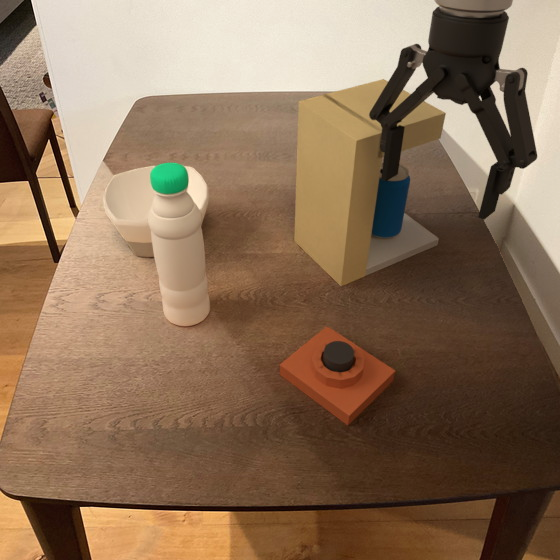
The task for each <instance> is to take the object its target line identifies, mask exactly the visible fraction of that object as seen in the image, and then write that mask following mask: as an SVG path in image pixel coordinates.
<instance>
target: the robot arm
mask: <svg viewBox="0 0 560 560" xmlns="http://www.w3.org/2000/svg"><path fill="white" fill-rule="evenodd" d="M513 1H514V0H434V2H435V3H436V5H438V6H437V7H436V8H435V9H434V10H433V11H432V14H431V20H430V27H429V33H428V41H427V43H428V49H427V50H425V49H422V46H421V45H420V44H419V43H414V44H412V45H409V46H407V47H404V48H402V49H401V50H400V53H399V58H398V62H397V66H396V67H395V70H393V73H392V75H391V76H390V78H389V79H388V80H387V81H388V83H387V85H386V86H385V88H384V90H383V91H382V93H381V94H380V96H379V98H378V99H377V101H376V103H375V104H374V106H373V108H372V109H371V111H370V113H369V116H370V118H371V119H372V120H377V121H378V122H379V123H380V124H381V127H382V134H381V143H380V150H381V152H384V157H383V160H382V163H383V169H382V176H381V180H384V181H387V180H389V179H391V178H392V177H394V176H396V175H398V170H399V164H401V155H402V151H401V149H402V142H403V135H404V128H405V127H404V126H401V125H399V126H397V124H398V123H400V122H402V121H401V120H403V119H404V118H405V117H406V116H407V115H408V114H410V113H411V112H412V111H413V110H414V109H415V108H416V107H418V106H419V105H420V104H421V103H422V102H423V101H425V102H426V101H427V100H428V98H429V97H430V96H432V95H433V94H435V95H436V99H439V100H443V101H444V100H445V101H446V100H447V101H448V100H450V101H452V102H453V103H454V104H457V105H460V106H463V105H465V104H467V106H468V109H469V110H470V112H471V113H472V114H474V115H475V117H476V119H477V122H478V123H479V125H480V128H481V130H482V132H483V134H484V136H485V138H486V140H487V142H488V145H489V147H490V149H491V151H492V153H493V155H494V157H495V160H496V162H495V163H494V164H492V165H491V166H490V169H489V172H488V177H487V181H486V184H485V188H484V192H483V196H482V200H481V204H480V208H479V211H478V217H477V218H479V219H481V220H483V221H485V220H486V219H487V218H489V217H490V216H491V215H492V214H494V213H495V212H496V209H497V205H498V201H499V198H500V195H503V194H504V193H506V192H507V191H508V190H509V189H510V188H511V184H512V182H513V179H514V174H515V171H516V168H519V169H523V170H524V169H526V168H527V167H529V166H530V165H532V164H533V163H534V162H535V161H537V159H538V152H537V146H536V140H535V136H534V130H533V126H532V120H531V114H530V111H529V105H528V104H529V103H528V99H527V94H526V86H527V80H528V70H527V69H526V68H525V67H519V68H517V69H515V70H513V69H505V68H501V67H500V61H499V60H500V55H501V52H502V50H503V46H504V41H505V37H506V32H507V28H508V24H509V19H510V16H509V15H508V12H506V11H507V10H508V9H510V8H511V7H512V5H513ZM421 65H422V67H423V69H424V72H425V74H426V77H427V78H426V79H425V80H424V81H423V82H422V83H420V84H419V85H418V86H417V87H416V88H415V90H414V91H412V93H410V94H411V95H410V96H408V97H407V98H406V99H405V100H404V101H403V102H402V103H401V104H400V105H398V106H397V107H396V108H395V109H394V110H393V111H392V112H390V109H391V108H392V106H393V104H394V103H395V101H396V100H397V98H398V97H399V95H400V93H401V92H402V90H404V89H405V87H406V86H407V84H408V82H409V81H410V80H411V78H412V76H413V75H414V73H415V71H416V69H417V68H419V67H421ZM496 82H497V83H498V85H499V91H500V92H502V93H503V95H502V96H503V105H504V109H505V115H506V119H507V120H506V121H507V124H508V127H507V125H506V123H505V121H504V119H503V117H502V115H501V113H500V110H499V108H498V105H497V104H496V102H497V101H496V100H497V99H496V96H495V93H494V91H493V90H492V87H491V86H492V85H494V83H496Z"/></svg>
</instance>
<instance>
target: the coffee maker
mask: <svg viewBox="0 0 560 560" xmlns="http://www.w3.org/2000/svg"><path fill="white" fill-rule="evenodd" d="M388 81H389V80H386V79H384V78H382V79H378V80H375V81H370V82H366V83H363V84H359V85H355V86H353V87H352V86H351V87H348V88H347V87H346V88H344V89H340V90H336V91H331V92H329V93H325V94H320V95H317V96H312V97H310V98H306V99H302V100H298V117H297V143H296V144H297V145H296V173H295V175H296V176H295V177H296V179H295V205H294V207H295V209H294V212H295V213H294V238H293V240H294V242H295V244H297V245H298V247H299V248H301V250H302V251H304V252H305V253H306V254H307V255H308V256H309V257H310V258H311V259H312V260H313V261H314V262H315V264H317V265H318V266H319V267H320V268H321V269H322V270H323V271H324V272H325V273H326V274H327V275H328V276H329V277H331V279H333V281H334V282H336V284H338V285H339V286H340V287H343V286H345V285H349V284H350V283H352V282H354V281H355V282H356V281H357V280H359V279H362V278H365V277H366V276H370V275H371V274H373V273H376V272H379V271H381V270H383V269H385V268H387V267H390V266H392V265H394V264H397V263H399V262H401V261H404V260H406V259H409V258H411V257H413V256H415V255H418V254H420V253H422V252H425V251H427V250H430V249H432V248H435V247H436V246H438V244H439V239H440V238H439V237H438V236H436V235H435V234H434V233H432V232H431V231H430V230H428V229H427V228H425V227H424V226H423V225H422V224H420V223H419V222H417V221H416V220H415V219H413V218H412V217H411V216H409V214H407V213H405V212H404V217H403V223H402V228H401V232H400V233H399V234H398V235H396V236H394V237H391V238H385V239H383V238H377V237H375V236H373V235H372V234H371V233H372V226H373V219H374V212H375V205H376V198H377V191H378V184H379V177H380V170H381V163H383V158H384V152H381V150H380V143H381V134H382V127H381V124H380V123H379V122H378V121H377V120H372V119H371V118H370V116H369V113H370V111H371V109H372V108H373V106H374V104H375V103H376V101H377V99H378V98H379V96H380V94H381V93H382V91H383V90H384V88H385V86H386V85H387V83H388ZM411 94H412V93H410V92H408V91H407V90H404V89H403V90H402V92H401V93H400V95H399V97H398V98H397V100H396V101H395V103H394V104H393V106H392V108H391V109H390V112H392V111H393V110H394V109H395V108H396V107H397V106H398V105H400V104H401V103H402V102H403V101H404V100H405V99H406V98H407V97H408V96H410V95H411ZM446 115H447V112H445V111H443V110H441V109H439V108H438V107H435V106H434V105H432V104H430V103H429V102H426V100H425V101H423V102H422V103H421V104H420V105H419V106H418V107H416V108H415V109H414V110H413V111H412V112H411V113H410V114H408V115H407V116H406V117H405V118H404V119H403V120H401V121H402V122H400V123H398V124H397V126H399V125H401V126H404V127H405V128H404V135H403V142H402V149H401V152H404V151H407V150H409V149H413V148H415V147H418V146H421V145H424V144H428V143H431V142H434V141H437V140H440V139H441V138H442V133H443V128H444V123H445V119H446Z"/></svg>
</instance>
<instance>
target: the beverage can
mask: <svg viewBox="0 0 560 560" xmlns="http://www.w3.org/2000/svg"><path fill="white" fill-rule="evenodd" d="M382 169H383V162H382V163H381V170H380V177H379V184H378V191H377V198H376V205H375V212H374V219H373V226H372V233H371V234H372V235H373V236H375V237H377V238H383V239H385V238H391V237H394V236H396V235H398V234H399V233H400V232H401V228H402V223H403V217H404V213H405V212H406V205H407V201H408V196H409V189H410V185H411V176H410V171H409V168H407V167H406V166H404V165H403V164H401V163H399V170H398V175H396V176H394V177H392V178H391V179H389V180H387V181H384V180H381V176H382Z"/></svg>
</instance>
